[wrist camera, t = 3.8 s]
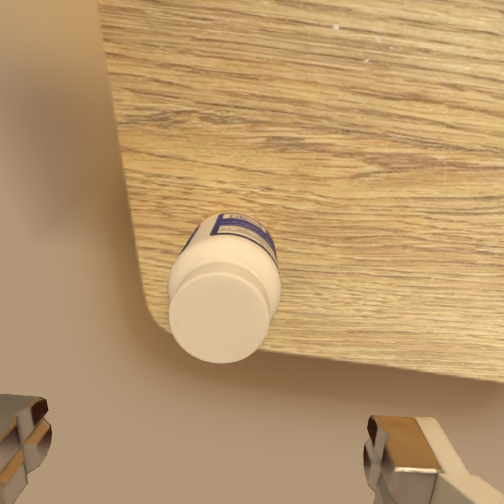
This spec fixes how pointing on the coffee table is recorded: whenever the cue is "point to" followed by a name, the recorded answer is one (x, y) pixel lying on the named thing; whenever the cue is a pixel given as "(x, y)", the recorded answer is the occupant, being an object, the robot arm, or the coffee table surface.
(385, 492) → the robot arm
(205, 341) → the pill bottle
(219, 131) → the coffee table surface
